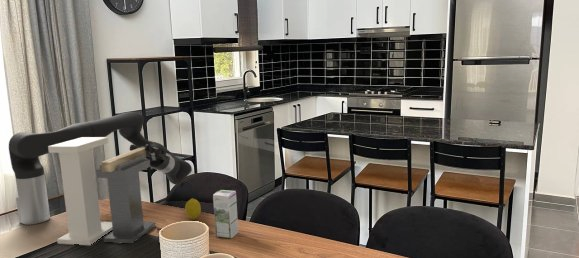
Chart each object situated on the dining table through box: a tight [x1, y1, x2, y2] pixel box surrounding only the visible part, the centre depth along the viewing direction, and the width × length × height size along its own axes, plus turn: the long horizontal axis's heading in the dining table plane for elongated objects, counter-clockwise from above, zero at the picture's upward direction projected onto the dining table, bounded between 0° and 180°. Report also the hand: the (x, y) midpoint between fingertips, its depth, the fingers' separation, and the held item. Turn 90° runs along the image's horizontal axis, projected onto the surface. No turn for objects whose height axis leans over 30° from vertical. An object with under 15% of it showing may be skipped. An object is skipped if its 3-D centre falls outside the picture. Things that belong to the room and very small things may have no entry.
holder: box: [95, 155, 156, 243], centre depth 143 cm, size 10×15×26 cm, turn 169°
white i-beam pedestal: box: [48, 136, 113, 246], centre depth 144 cm, size 12×16×32 cm
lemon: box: [184, 198, 202, 221], centre depth 156 cm, size 6×6×8 cm
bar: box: [100, 147, 151, 172], centre depth 144 cm, size 3×24×3 cm, turn 169°
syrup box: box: [212, 189, 239, 239], centre depth 141 cm, size 6×6×14 cm
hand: (138, 147), depth 150 cm, fingers open, 5 cm apart
